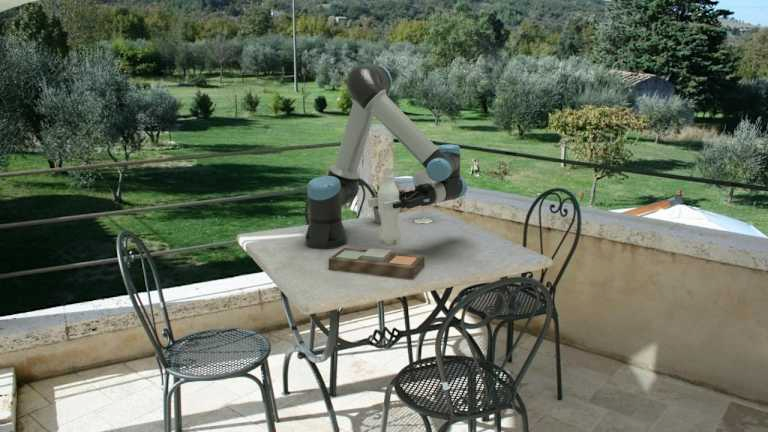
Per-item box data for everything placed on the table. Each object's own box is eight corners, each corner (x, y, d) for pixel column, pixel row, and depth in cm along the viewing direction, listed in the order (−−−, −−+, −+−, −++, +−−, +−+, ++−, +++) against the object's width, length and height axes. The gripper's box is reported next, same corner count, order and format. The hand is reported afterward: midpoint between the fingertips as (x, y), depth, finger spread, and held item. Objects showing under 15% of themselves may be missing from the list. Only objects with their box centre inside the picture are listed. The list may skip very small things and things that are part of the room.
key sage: (336, 265, 197) (335, 256, 197) (345, 258, 204) (345, 250, 203) (356, 267, 195) (356, 259, 194) (365, 260, 201) (365, 252, 201)
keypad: (328, 269, 196) (328, 258, 195) (344, 257, 207) (343, 247, 206) (412, 279, 186) (412, 268, 185) (424, 266, 197) (424, 255, 196)
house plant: (354, 222, 248) (352, 183, 244) (376, 215, 258) (375, 177, 254) (381, 228, 239) (380, 187, 235) (403, 220, 250) (402, 181, 245)
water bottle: (401, 240, 207) (399, 167, 201) (399, 246, 200) (397, 171, 194) (380, 240, 208) (378, 167, 202) (377, 246, 201) (375, 171, 195)
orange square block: (388, 271, 191) (388, 262, 190) (396, 263, 198) (396, 255, 197) (410, 273, 189) (410, 265, 188) (417, 266, 195) (417, 257, 194)
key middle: (361, 263, 194) (361, 255, 193) (370, 256, 200) (370, 248, 200) (383, 265, 191) (383, 257, 191) (391, 258, 198) (391, 250, 197)
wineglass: (435, 218, 251) (435, 170, 246) (429, 224, 243) (430, 175, 238) (416, 217, 254) (416, 169, 248) (410, 223, 246) (410, 174, 241)
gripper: (449, 209, 205) (396, 222, 191) (410, 199, 220) (358, 211, 206) (449, 187, 203) (395, 199, 189) (410, 179, 218) (357, 189, 204)
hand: (376, 205), depth 198 cm, fingers closed on water bottle, 7 cm apart
